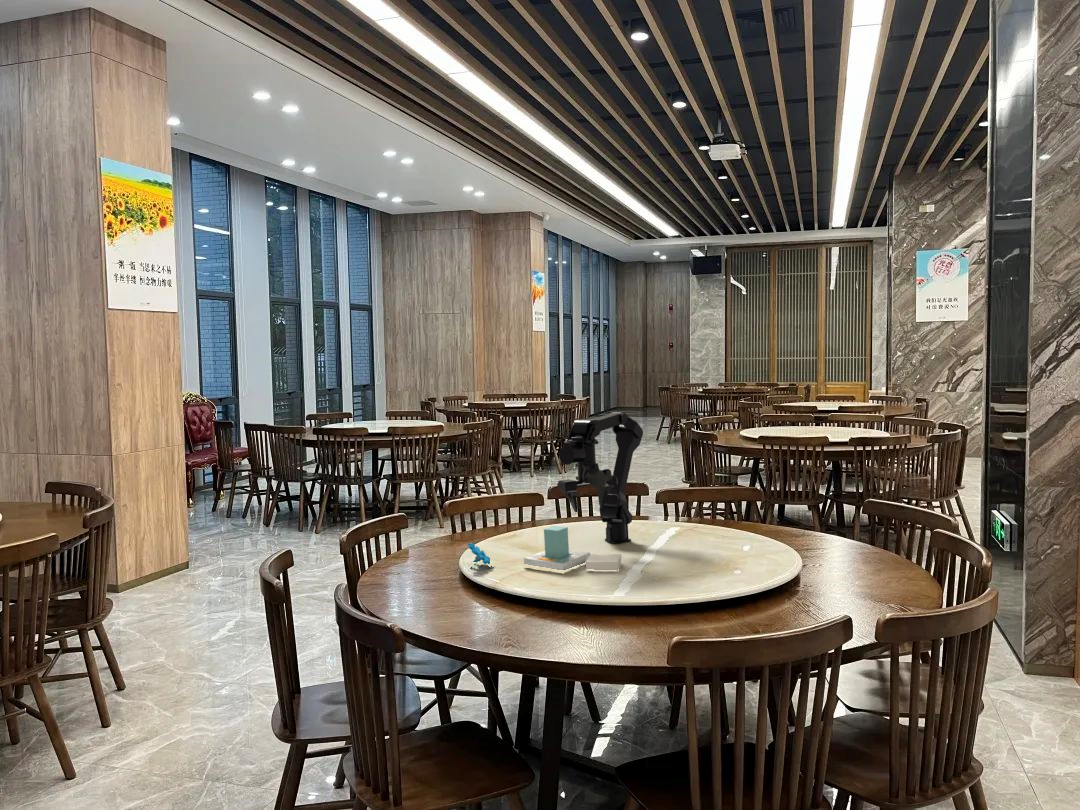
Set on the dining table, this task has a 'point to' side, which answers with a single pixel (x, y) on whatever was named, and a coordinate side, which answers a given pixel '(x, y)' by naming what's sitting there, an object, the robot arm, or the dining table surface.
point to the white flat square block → (604, 561)
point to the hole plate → (558, 560)
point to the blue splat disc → (479, 554)
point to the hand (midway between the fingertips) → (588, 510)
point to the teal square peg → (556, 542)
